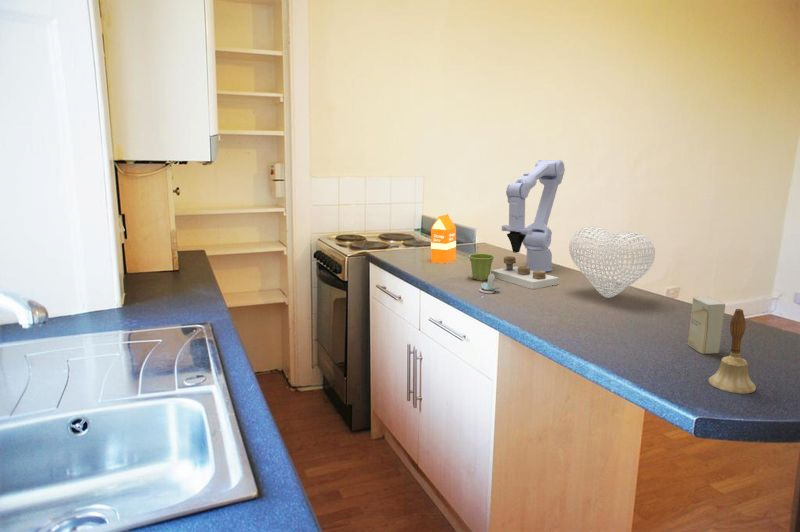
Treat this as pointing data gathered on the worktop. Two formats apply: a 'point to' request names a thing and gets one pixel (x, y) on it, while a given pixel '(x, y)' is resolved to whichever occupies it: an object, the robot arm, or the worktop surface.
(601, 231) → the heart
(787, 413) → the worktop surface
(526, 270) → the knob middle
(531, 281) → the mount plate
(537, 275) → the knob
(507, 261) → the knob
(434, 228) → the orange juice
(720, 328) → the skincare box
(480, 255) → the plant pot
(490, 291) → the pacifier
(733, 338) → the hand bell
